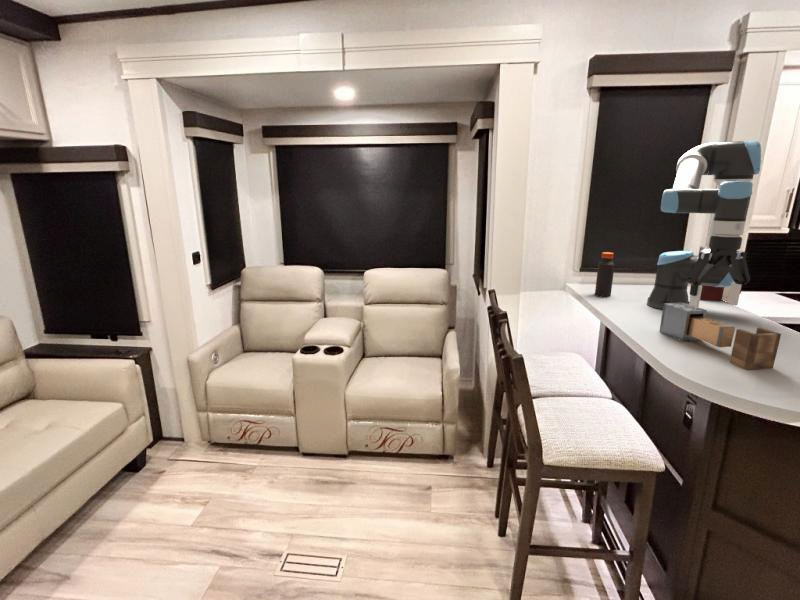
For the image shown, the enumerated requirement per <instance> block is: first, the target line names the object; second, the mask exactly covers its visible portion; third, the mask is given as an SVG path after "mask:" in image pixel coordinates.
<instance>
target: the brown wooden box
mask: <svg viewBox="0 0 800 600" xmlns="http://www.w3.org/2000/svg"><path fill="white" fill-rule="evenodd" d="M781 336H782V334H781V333H779V332H776V331H774V330H770V329H767V328H764V327H757V328H756V332H755V333H754V332H751V331H747V330H744V329H742V328H737V329H735V335H734V340H733V343H732V350H731V355H730V359H729V363H731V364H733V365H735V366H738V367H740V368H742V369H744V370H747V371H754V370H756V371H757V370H765V369H766V370H768V369H773V368H774V365H775V363H776V362H775V361H776V358H777V353H778V348H779V345H780V341H781Z"/></svg>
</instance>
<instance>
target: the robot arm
mask: <svg viewBox="0 0 800 600" xmlns="http://www.w3.org/2000/svg"><path fill="white" fill-rule="evenodd" d="M761 160H762V146H761V143H760V142H759V141H757V140H739V141H736V140H735V141H724V142H722V141H721V142H708V143H707V142H706V143H703V144H700V145H697V146H695V147H693V148H691V149H690V150H687V152H685V153H684V154H683V155H682V156H681V157H680V158H679V159H678V161H677V164H676V168H675V171H676V177H675V179H674V183H673V185H672V188H669V189H665V190H664V191H663V193H662V197H661V202H660V211H661V212H663V213H670V214H671V213H672V214H709V215H710V214H711V218H710V223H709V228H708V234H707V238H706V239H707V241H706V245H705V246H706V248H704V249H703V250H701V251H700V254H699V253H698V255H699V256H698V255H696V254H695V255H694V252H693V251H691V250H676V251H675V250H674V251H666V252H663V253H661V254H659V256H658V261H657V263H656V265H657V266H656V267H657V268H656V273H655V279H654V285H653V288H652V291H651V293H650V295H649V297H647V301H646V305H647V306H649V307H651V308H655V309H659V310H663V306H664V303H679V302H682V303H686V304H689V305H691V306H694V307H698V308H700V307H699V306H700V301H701V300H700V296H701V291H702V286H700V285H706V286H715V287H724V288H728V287H729V291H728V293H729V294H728V297H727V302H726V304H729V305H733V306H738V305H739V304H738V303H739V299H740V294H742V290H743V285H747V284H748V282H750V281H751V276H750V272H749V271H750V270H749V268H748V264H747V252H746V251H741V250H740V249H741V247H742V241H743V238H742V236H743V234H744V231H745V226H746V221H747V216H748V211H749V207H750V203H751V197H752V196H753V185H754V184H753V182H752V181H753V180H754V175H758V174H760V173H761V172H760V171H761V164H762V163H761V162H762V161H761ZM703 176H713V181H714V183H715V184H716V185H717V186H716V188H700V185H701V183H702V182H701V180H702V177H703ZM689 285H690V289H689V294H688V286H689ZM689 295H690V297H689Z"/></svg>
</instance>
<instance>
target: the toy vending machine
mask: <svg viewBox="0 0 800 600" xmlns="http://www.w3.org/2000/svg"><path fill="white" fill-rule="evenodd" d="M704 248H706V245H701V246H699V251H698V255H697V256H699V254H700V251H701V250H703V249H704ZM700 286H702V291H701V296H700V301H708V300H709V301H712V302H722V301H723V295H724V291H725V287H715V286H706V285H700Z"/></svg>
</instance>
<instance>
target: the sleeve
mask: <svg viewBox="0 0 800 600" xmlns="http://www.w3.org/2000/svg"><path fill="white" fill-rule="evenodd" d="M707 311H708V310H707V309H704V308H701V307H694V306H691V305H689V304H686V303H682V302H679V303H664V306H663V309H662V312H661V319H660V326H659V332H660V333H662V332H663V333H662V334H664V333H665V334H664V335H666V336H669V335H670V336H669V337H671V336H672V338H674V337H675V338H674V339H676V338H677V339H676V340H678V339H680V340H679V341H681V340H682V341H681V342H687V341H686V340H695V341H701V340H700V339H697V338H695V337H692V336H690V335H687V329H688V323H689V317H690V314H696V315H699V316H702V317H705V318H707V313H708V312H707Z"/></svg>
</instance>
